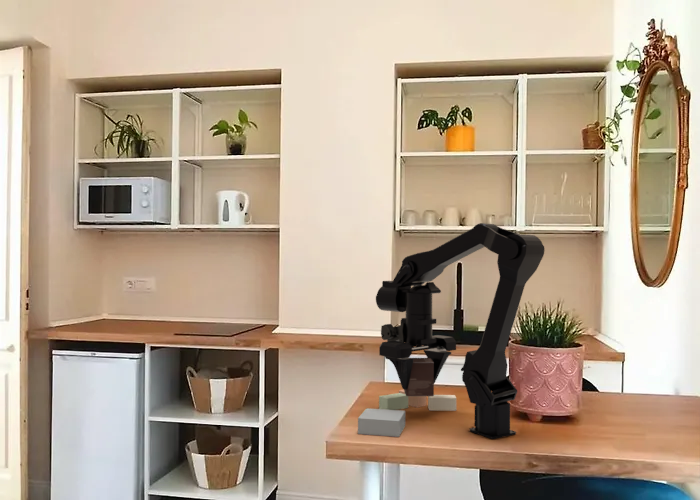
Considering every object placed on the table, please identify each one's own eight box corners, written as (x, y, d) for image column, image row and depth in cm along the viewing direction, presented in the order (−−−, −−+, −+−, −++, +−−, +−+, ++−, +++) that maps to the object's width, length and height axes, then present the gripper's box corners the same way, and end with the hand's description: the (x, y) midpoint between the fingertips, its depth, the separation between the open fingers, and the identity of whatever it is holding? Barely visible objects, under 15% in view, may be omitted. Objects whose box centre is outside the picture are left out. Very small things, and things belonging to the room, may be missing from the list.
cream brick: (454, 408, 143) (454, 395, 143) (456, 411, 140) (456, 398, 140) (428, 407, 143) (428, 394, 143) (429, 411, 140) (429, 397, 140)
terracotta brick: (426, 406, 144) (426, 393, 144) (417, 408, 142) (417, 395, 142) (407, 401, 149) (407, 388, 149) (398, 403, 147) (398, 390, 147)
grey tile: (405, 425, 127) (405, 410, 127) (398, 436, 119) (399, 421, 120) (366, 422, 129) (366, 408, 129) (357, 433, 121) (357, 418, 121)
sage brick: (399, 405, 145) (399, 392, 145) (408, 408, 142) (408, 395, 142) (379, 409, 141) (379, 396, 141) (387, 412, 139) (387, 398, 139)
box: (434, 397, 132) (434, 362, 132) (405, 397, 132) (405, 362, 133) (431, 390, 138) (431, 357, 138) (403, 390, 139) (403, 357, 139)
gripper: (420, 308, 148) (420, 375, 148) (361, 313, 135) (361, 386, 135) (457, 312, 139) (457, 382, 139) (398, 317, 127) (398, 395, 127)
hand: (418, 386), depth 135 cm, fingers closed on box, 8 cm apart
